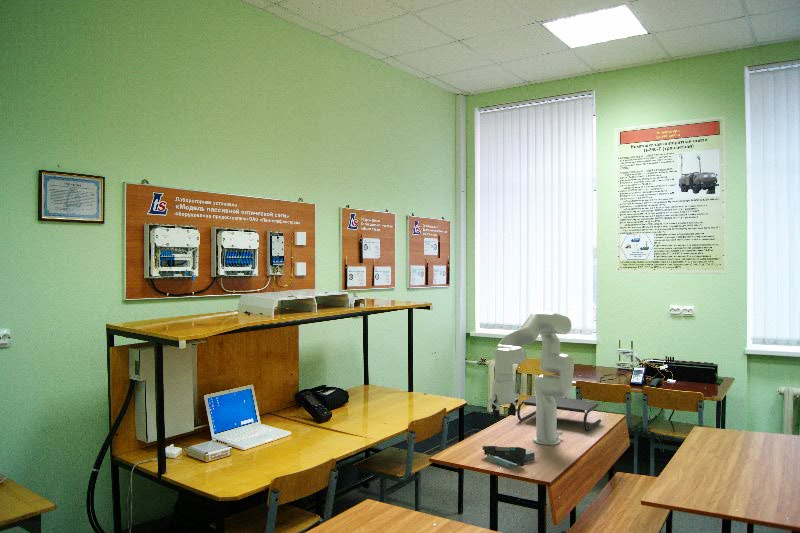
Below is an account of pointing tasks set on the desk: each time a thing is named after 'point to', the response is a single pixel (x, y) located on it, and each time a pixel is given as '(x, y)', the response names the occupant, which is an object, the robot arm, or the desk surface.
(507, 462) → the cradle tray
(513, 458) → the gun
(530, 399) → the monitor stand
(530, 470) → the desk surface
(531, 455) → the block
